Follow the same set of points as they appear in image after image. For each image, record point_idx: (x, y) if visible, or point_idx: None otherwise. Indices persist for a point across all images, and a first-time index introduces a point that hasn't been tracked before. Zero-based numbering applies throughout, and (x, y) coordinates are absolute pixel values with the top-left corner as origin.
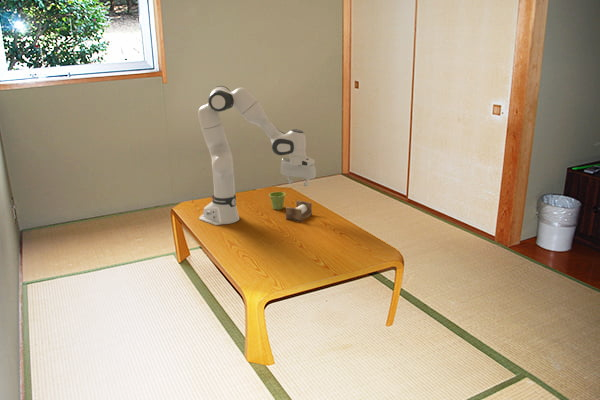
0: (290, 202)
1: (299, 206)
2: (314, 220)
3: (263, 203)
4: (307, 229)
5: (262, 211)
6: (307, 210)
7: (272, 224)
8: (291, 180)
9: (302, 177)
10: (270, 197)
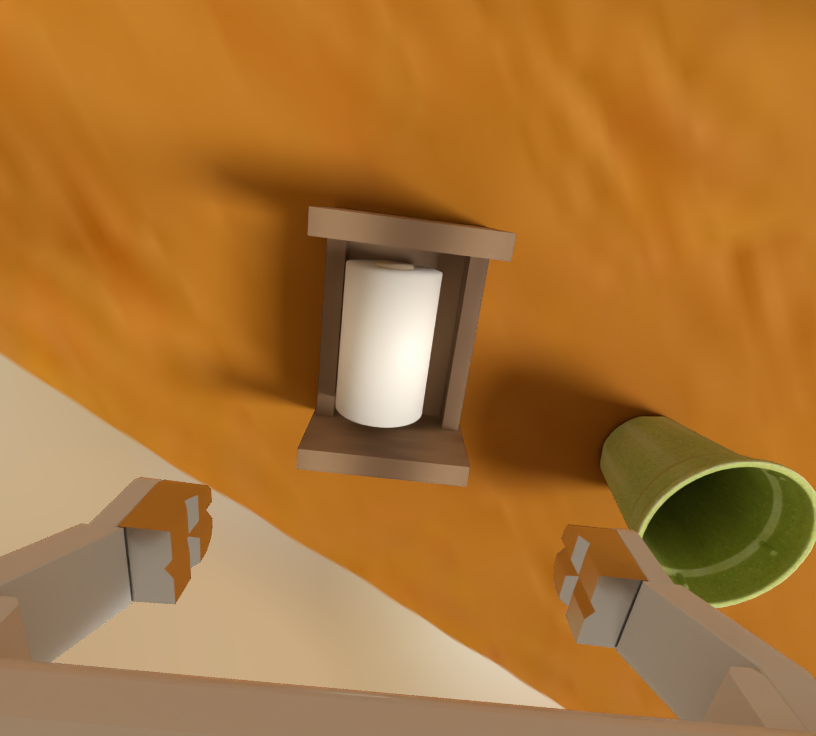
0: None
1: (389, 359)
2: (237, 293)
3: None
4: (183, 35)
5: (759, 348)
6: None
7: (577, 46)
8: (595, 613)
9: (36, 678)
10: (779, 475)
